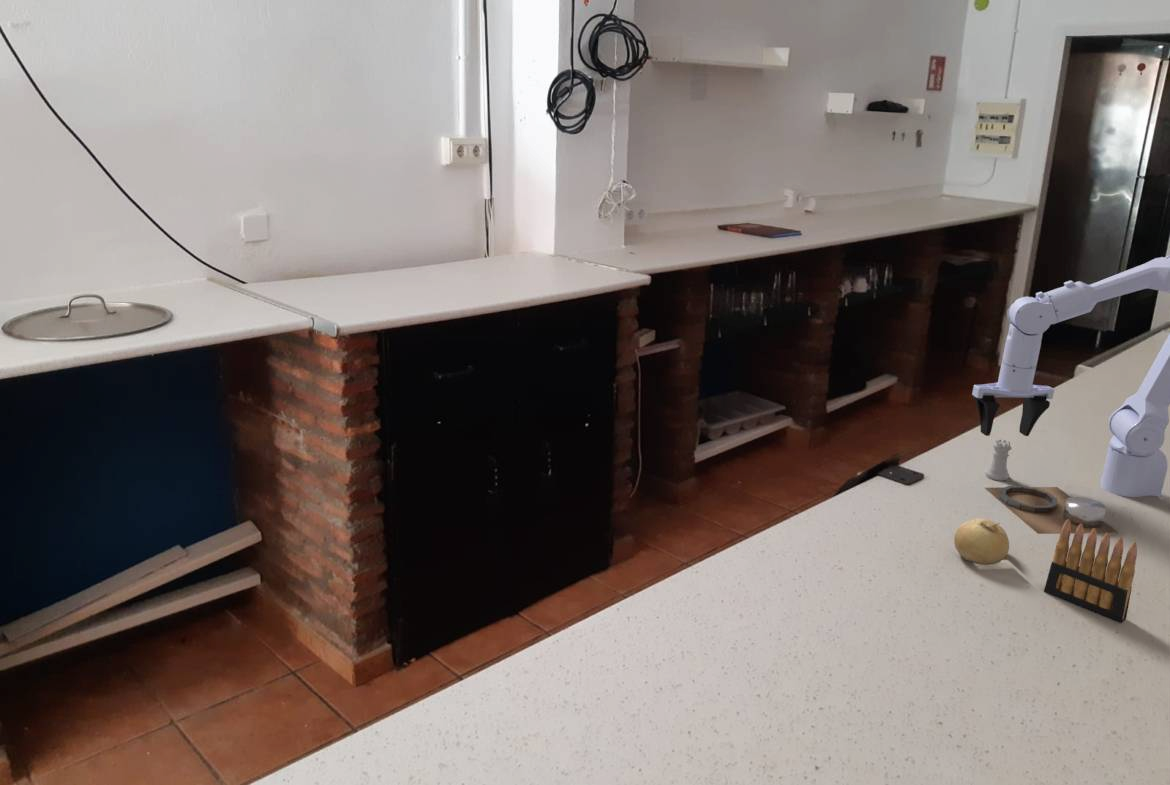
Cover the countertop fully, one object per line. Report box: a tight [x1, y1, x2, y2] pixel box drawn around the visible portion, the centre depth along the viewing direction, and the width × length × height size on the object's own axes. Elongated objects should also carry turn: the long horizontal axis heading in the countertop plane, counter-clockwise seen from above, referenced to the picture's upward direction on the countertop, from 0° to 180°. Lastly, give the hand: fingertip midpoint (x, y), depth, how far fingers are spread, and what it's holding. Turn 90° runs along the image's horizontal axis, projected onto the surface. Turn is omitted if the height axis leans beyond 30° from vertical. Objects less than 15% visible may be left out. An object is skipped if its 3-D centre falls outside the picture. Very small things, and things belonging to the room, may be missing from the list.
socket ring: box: [1000, 485, 1057, 513], centre depth 162 cm, size 9×9×1 cm
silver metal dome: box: [1063, 496, 1107, 528], centre depth 155 cm, size 6×6×3 cm
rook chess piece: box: [984, 439, 1012, 482], centre depth 172 cm, size 4×4×8 cm
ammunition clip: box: [1043, 519, 1138, 624], centre depth 130 cm, size 11×2×12 cm, turn 41°
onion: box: [953, 517, 1010, 566], centre depth 143 cm, size 8×8×7 cm
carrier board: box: [984, 486, 1119, 535], centre depth 160 cm, size 14×18×1 cm
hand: (1004, 434), depth 170 cm, fingers open, 7 cm apart
